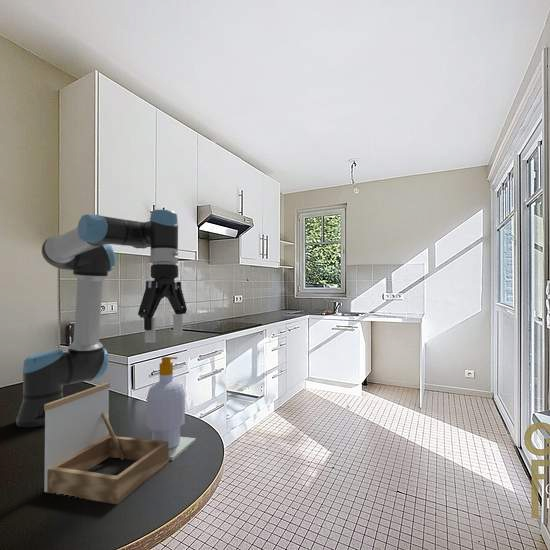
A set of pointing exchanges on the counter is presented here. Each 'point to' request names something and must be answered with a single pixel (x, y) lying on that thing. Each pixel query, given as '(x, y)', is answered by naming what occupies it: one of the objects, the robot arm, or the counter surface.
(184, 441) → the trivet
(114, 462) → the counter surface
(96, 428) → the lid
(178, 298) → the robot arm
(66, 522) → the counter surface
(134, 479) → the frame
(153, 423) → the soap bottle
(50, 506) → the counter surface
